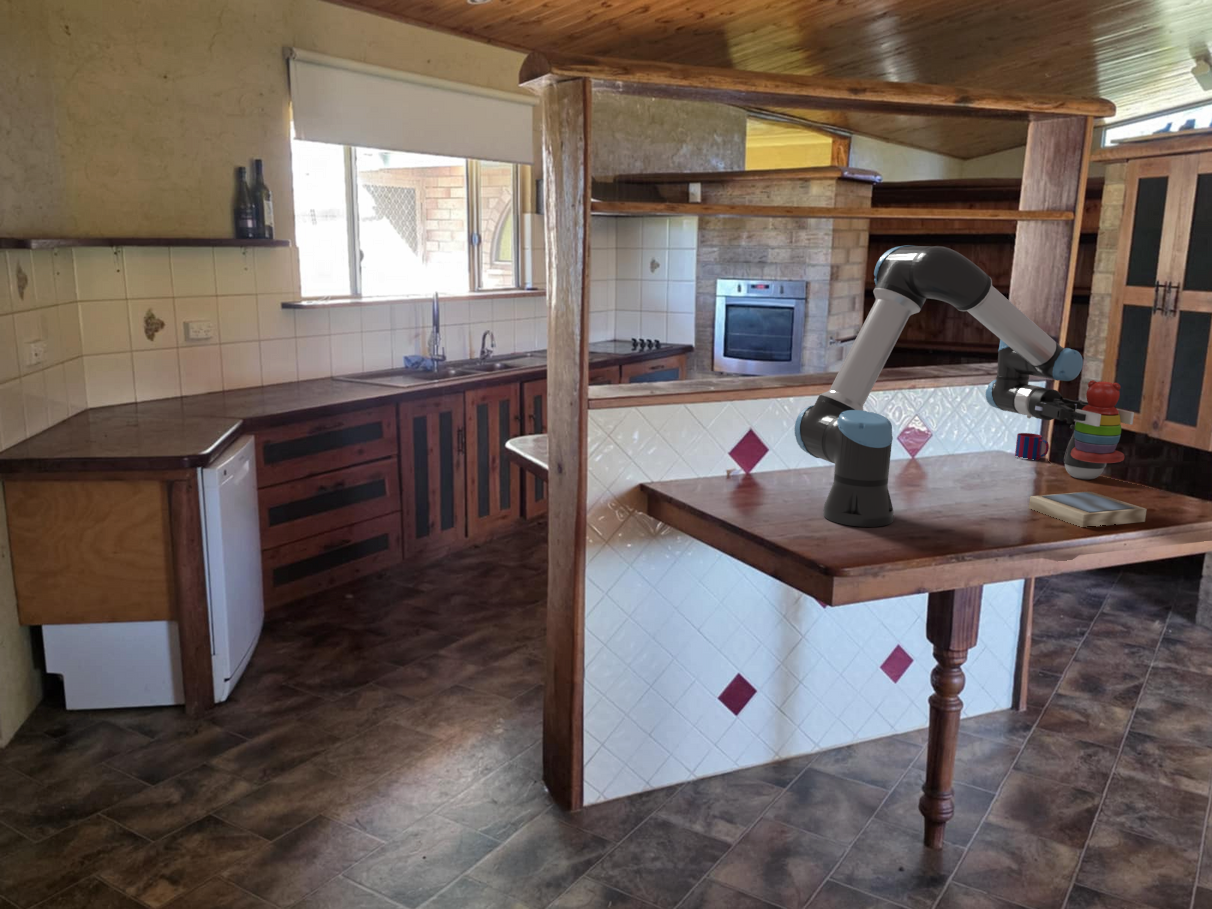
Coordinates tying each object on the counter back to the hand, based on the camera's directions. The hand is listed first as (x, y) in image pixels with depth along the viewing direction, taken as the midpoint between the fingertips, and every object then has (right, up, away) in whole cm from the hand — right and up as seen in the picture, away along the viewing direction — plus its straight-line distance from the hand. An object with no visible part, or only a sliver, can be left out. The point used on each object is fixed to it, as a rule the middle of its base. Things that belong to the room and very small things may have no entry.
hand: (1115, 419), depth 211 cm
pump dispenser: (+16, -14, +46) cm, 51 cm away
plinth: (-2, -22, +9) cm, 24 cm away
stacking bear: (-1, -9, +7) cm, 11 cm away
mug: (+11, -9, +68) cm, 69 cm away
